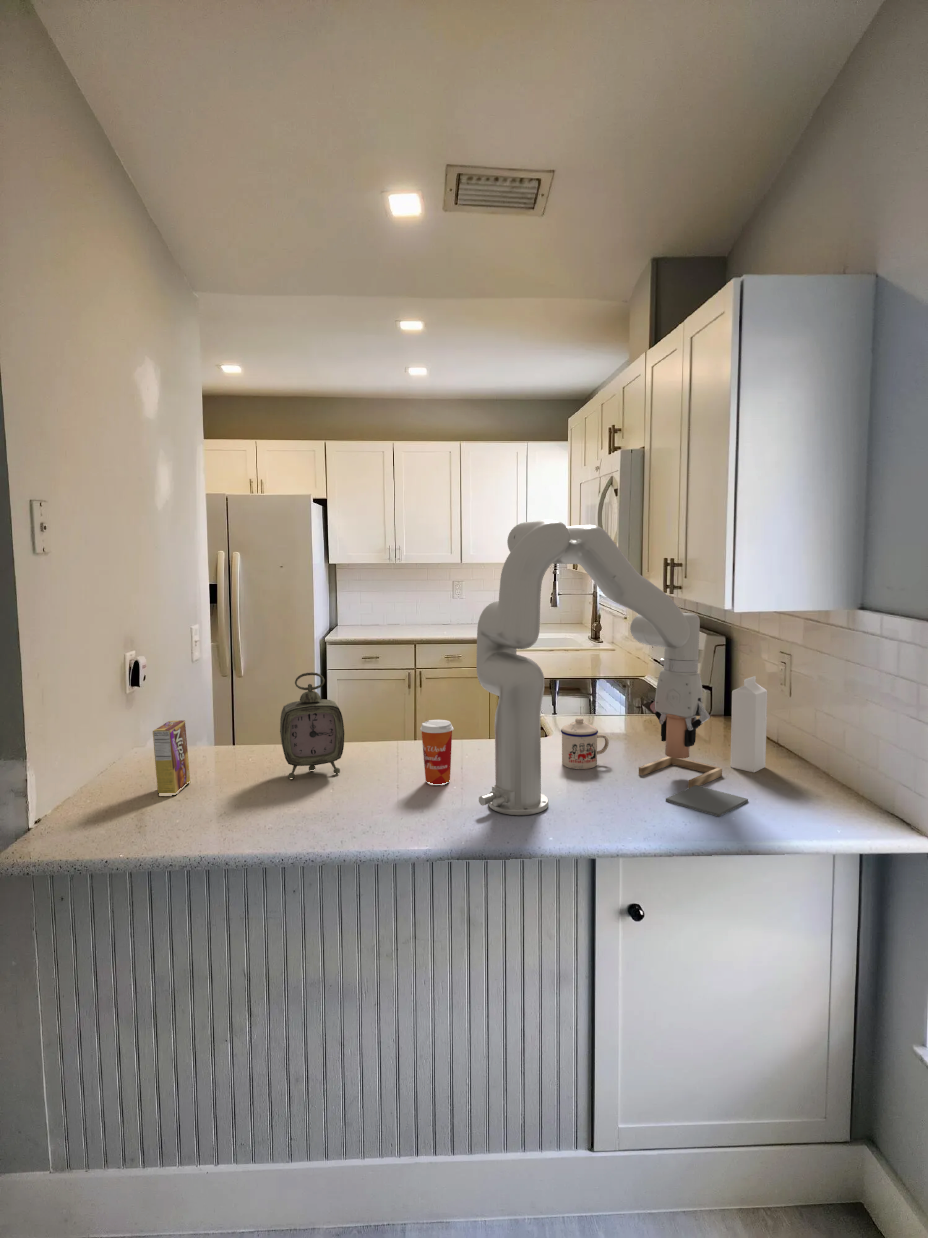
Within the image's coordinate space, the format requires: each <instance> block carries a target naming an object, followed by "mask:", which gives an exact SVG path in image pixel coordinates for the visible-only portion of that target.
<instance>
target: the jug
mask: <svg viewBox="0 0 928 1238" xmlns="http://www.w3.org/2000/svg"><path fill="white" fill-rule="evenodd" d="M666 716H667V721H666V741H665V749H664V752H665V757H672V758H683V759H688V758H690V751H691V748H690V747H691V746H690V747H685V730H687V729H688V728H687V724H686V720H685V719H686V718H683V717H679V716H677V715H672V714H666Z"/></svg>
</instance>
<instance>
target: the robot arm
mask: <svg viewBox="0 0 928 1238" xmlns="http://www.w3.org/2000/svg"><path fill="white" fill-rule="evenodd" d="M507 548H508V551H509V554H508V555H507V557H506V559H505V561H504V564H503V566H502V568H501V573H500V579H499V580H500V581H499V592H498V600H497V601H494V602H493V601H492V602H490V603H489V604H488V605H486V606H485V607H484V608H483V610H482V612H481V614H480V615H479V619H478V622H477V630H476V665H475V666H476V675H477V676H476V677H477V680H478V682H479V684H480V686H481V687H482V688H483V689H484V690H485V691H486V692H489V693H490V694H493V695H496V696H498V702H497V706H496V710H495V714H494V751H495V752H494V758H495V759H494V760H495V761H494V763H495V765H494V767H495V771H494V772H495V785H492V786H491V791H490V792H489V793H486V794H484V795H480V796H479V797H478V803H479V804H480V806H487V805H488V806H489V808H490V809H492V810H493V811H495V812H497V813H501V814H502V815H503V814H504V815H510V816H526V815H527V816H531V815H535V814H539V813H541V812H543V811H545V810H546V809H547V808H548V807H549V798H548V796H546V795H545V794H544V793H542V766H541V765H542V760H541V759H542V756H541V755H542V753H541V750H542V749H541V744H542V741H541V739H542V738H541V714H542V713H541V712H542V711H541V710H542V704H543V703H542V702H543V698H544V697H543V696H544V693H545V676H544V672H543V670H542V668H541V666H539V664H538V663H536V662H535V660H532V659H531V658H529V657H526V656H523V655H521V654H517V650H526V649H530V648H531V647H533V646H534V645H535V644H536V643H537V641H538V638H539V635H540V627H541V598H542V597H541V595H542V594H541V593H542V585H543V580H544V578H545V577H544V576H545V575H546V573H547V571H548V569H549V568H550V567H551V565H552V564H556V565H557V564H559V565H560V564H561V565H580V566H581V567H582V569H583V570H584V571H585V572H586V574H587V575H588V576H589V577H590V578H591V579H592V581H593V582H594V583H595V585H596V586H597V587H598V589H599V590H600V591H601V592H602V594H603V595H604V596H605V597H606V598H607V599H609V600H611V601H612V602H613V603H615V604H617V605H619V606H622V607H624V608H627V609H629V610H631V611H633V612H634V613H636V614H638V615H637V616H635V617H634V618H633V619H632V620H631V623H630V627H629V629H630V630H629V631H630V633H631V636H632V637H633V639H634V640H635V641H636V642H639V643H641V644H643V645H645V646H646V645H647V646H653V647H660V648H664V654H663V655H664V656H663V658H660V660H659V664H660V665H663V669H661V670H660V671H659V675H658V679H657V683H656V689H655V698H654V701H653V702H652V703H650V705H649V709H650V710H651V711H652V712H653V714H654V715H655V717H656V718H657V719H658V722H659V724H660V736H661V738H660V739H661V740H660V741H661V742H666V721H667V716H666V714H672V715H677V716H679V717H683V718H686V719H685V720H686V724H687V728H688V729H687V730H685V747H693V746H694V745H695V743H696V737H697V735H696V734H697V729H699V727H700V726H702V725H703V723H705V722H706V721H708V720H709V719H710V718H711V716H710V714H709V712H708V711H707V710H706V708H705V706H704V705H703V702H704V701H703V699H704V698H703V696H704V695H703V694H704V693H703V684H702V678H701V674H700V673H699V672H698V671H699V670H698V669H699V652H700V651H699V648H700V628H701V627H700V626H701V623H700V622H701V621H700V617H699V616H698V615H697V614H695V613H692V612H682V610H681V609H680V608H679V607H678V605H677V603H675V601H674V600H673V599H672V598H671V596H669V595H668V594H666V592H664V591H663V590H662V589H660V588H659V587H658V586H657V585H655V584H654V583H652V582H651V581H650V580H648V579H647V578H646V577H644V576H643V575H641V574H640V573H638V571H637V570H636V569H635V567H634V566H633V565H632V563H631V562H630V561H629V560H628V559H627V557H626V556H625V554H623V552H622V550H621V549H620V548H619V547H618V545H617V544H616V543H615V541H614V540H613V539H612V538H611V536H610V535H609V533H608V532H607V531H606V530H605V529H604V528H603V527H600V526H599V525H595V524H585V525H571V526H570V525H569V526H567V525H565V523H563V522H561V521H559V520H556V519H555V520H554V519H543V520H534V521H525V522H521V523H519V524H516V525H514V527H512V529H511V530H510V532H509V534H508V535H507ZM697 716H699V717H698V718H697Z"/></svg>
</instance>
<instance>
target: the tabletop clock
mask: <svg viewBox="0 0 928 1238" xmlns="http://www.w3.org/2000/svg"><path fill="white" fill-rule="evenodd" d="M307 676H308V677H309V676H316V677H319V678H321V680H322V682H321V684H319V685H317V686H313V684H312V683H308V684H307V687H303V686H301V685H299V684H298V681H299V680H300V679H301V678H304V677H307ZM325 681H326V680H325V678H324V676H323V675H321V673H318V672H312V671H311V672H305V673H301V674H300V675H298V676H297V677H296V678H295V681H294V684H295V687H296V688H297V689H299V690H302V691H304V692H303V693H302V694H301V695H300V697H299V700H296V701H292V702H289V703H287V704H285V705H283V707H282V710H281V713H280V723H279V735H280V741H281V743H280V744H281V747H282V751H283V755H284V758H285V761H286V762H287V764H288V765H291V766H292V770H291V772H289V773H288V775H287V777H288V778H287V779H289V778H294V777H295V778H296V774H295V771H296V769H297V767H308V766H309V767H308V770H309V771H310V770H314V769H315V770H316V766H320V765H325V764H331V767H332V768H333V774H334V773H336V774H335V775H339V774H340V773H341V768H339V767H337V766H336V764H335V762H336V761H339V760H340V759H341V758H342V755H343V753H344V747H345V727H344V726H345V725H344V718H343V714H342V711H341V710H340V708H339V706H338V704H337V703H336V702H335V701H334V700H331V699H324V698H323V699H322V698H321V697H322V696H321V695H320V694H319V693H318V692H317V691H314V690H318V689H321V688H322V686H324V684H325ZM338 773H339V774H338ZM295 778H294V779H295Z"/></svg>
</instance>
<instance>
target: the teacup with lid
mask: <svg viewBox="0 0 928 1238" xmlns="http://www.w3.org/2000/svg"><path fill="white" fill-rule="evenodd" d="M560 732H561V764H562V765H563V766H564V767H566V768H569V769H571V770H572V769H573V770H588V769H592V768H595V767H596V766H597V765H598V755H602V754H604V753H605V752H606V751H607V749H608V748H609V745H610V744H609V743H610V742H609V738H608V737H607V736H606V735H605V734H601V733H599V730H598V728H597V727H596V726H595V725H591V724H589V723H587V722H586V721H584V718H583V717H576V718H575V721H572V722H571V723H569V724H566V725H563V726H562V727H561V729H560ZM599 738H600V739H604V746H603V747H602V748H601V749H600V750H598V739H599Z"/></svg>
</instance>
